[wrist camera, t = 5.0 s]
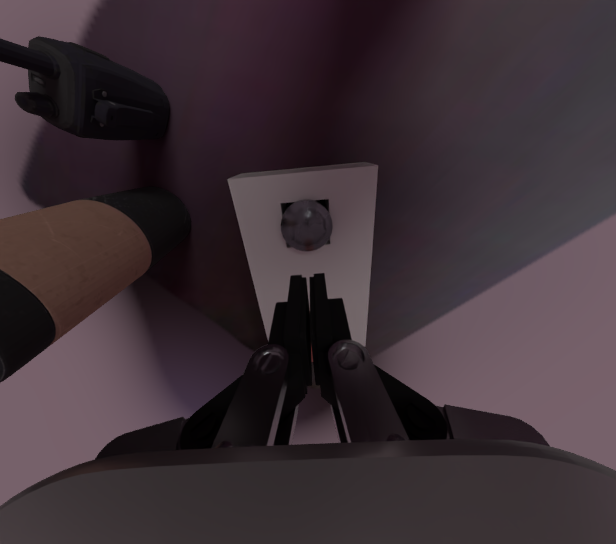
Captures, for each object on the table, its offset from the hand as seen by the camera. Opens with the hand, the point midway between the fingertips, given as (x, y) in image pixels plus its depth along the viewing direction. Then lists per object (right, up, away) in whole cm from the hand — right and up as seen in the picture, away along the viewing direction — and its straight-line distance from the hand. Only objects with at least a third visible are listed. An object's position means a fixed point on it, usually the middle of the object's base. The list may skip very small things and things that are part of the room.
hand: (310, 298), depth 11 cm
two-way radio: (-15, +17, +11) cm, 25 cm away
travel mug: (-18, +8, +16) cm, 26 cm away
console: (0, +3, +19) cm, 20 cm away
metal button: (0, +8, +15) cm, 17 cm away
